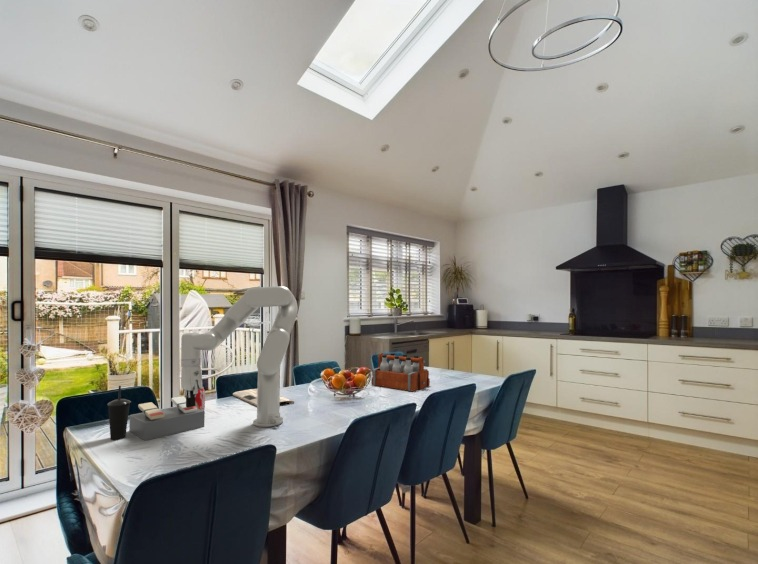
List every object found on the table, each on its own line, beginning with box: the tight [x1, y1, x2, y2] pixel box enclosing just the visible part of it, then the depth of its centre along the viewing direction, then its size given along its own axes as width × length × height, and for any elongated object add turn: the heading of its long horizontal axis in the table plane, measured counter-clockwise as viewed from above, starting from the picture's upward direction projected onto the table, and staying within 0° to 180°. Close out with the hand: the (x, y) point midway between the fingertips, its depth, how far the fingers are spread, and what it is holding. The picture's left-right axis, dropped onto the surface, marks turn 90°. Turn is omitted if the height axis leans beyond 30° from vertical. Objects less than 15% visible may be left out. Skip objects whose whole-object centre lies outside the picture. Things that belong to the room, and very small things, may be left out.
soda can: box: [195, 386, 206, 411], centre depth 191 cm, size 7×7×12 cm
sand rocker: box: [137, 401, 165, 420], centre depth 163 cm, size 14×5×2 cm, turn 49°
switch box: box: [128, 405, 206, 442], centre depth 170 cm, size 22×23×8 cm
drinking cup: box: [106, 385, 132, 441], centre depth 157 cm, size 8×8×20 cm
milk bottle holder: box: [370, 352, 431, 392], centre depth 255 cm, size 21×35×19 cm, turn 54°
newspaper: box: [232, 388, 295, 407], centre depth 218 cm, size 37×19×3 cm, turn 42°
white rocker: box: [171, 395, 197, 413], centre depth 173 cm, size 14×5×2 cm, turn 49°
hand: (190, 406), depth 169 cm, fingers closed
